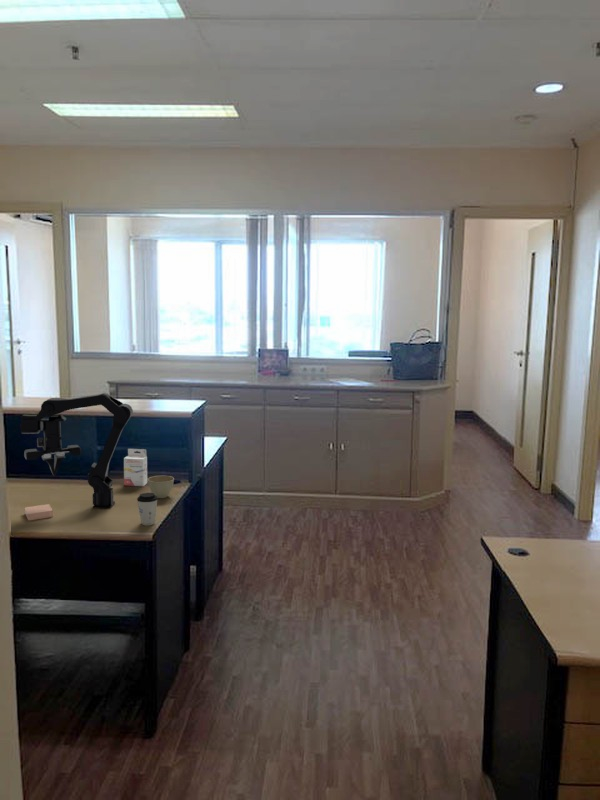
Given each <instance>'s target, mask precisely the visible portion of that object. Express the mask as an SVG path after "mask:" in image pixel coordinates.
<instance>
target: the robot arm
mask: <svg viewBox="0 0 600 800" xmlns="http://www.w3.org/2000/svg"><path fill="white" fill-rule="evenodd" d="M95 406H103V408H105V409H106V410H107V411H108V412H109V413H111V414H112V415H113V418H112V425H111V429H110V432H109V434H108V437H107V439H106V441H105V444H104V446H103V449H102V451H101V454H100V457H99V460H98V462H93V463H92V464H91V466H90V467H89V468H90V469H89V472H88V473H87V475H86V477H87V483H88V484H89V486H90V487H91V488H92V489H93V493H92V508H93V509H111V508H112V507H113V506H114V505H115V503H116V502H115V501H114V487H112V486H113V483H114V480H113V479H112V478H111V477H109V475H108V473H109V468H110V467H109V466H110V462H111V459H112V458H113V455H114V452H115V449H116V448H117V444H118V442H119V440H120V437H121V434H122V432H123V430H124V428H125V426H126V425H127V423H128V421H130V419H131V417H132V415H133V411H134V410H133V407H132V406H131V405H130V404H128V403H123V402H122V401H120V400H118V399H117V398H114V397H113V396H111V394H108V393H106V392H102V393H99V394H92V395H85V396H80V397H71V398H65V397H64V398H63V397H51V398H48V399H46V400H44V401H43V402H42V403H41V406H40V410H39V412H38V413H37V414H22V415H21V420H20V424H19V430H20V433H21V434H22V435H23V434H24V435H25V434H27V435H29V434H32V435H33V434H40V433H41V431H43V437H38V438H36V443H37V444H36V445H37V448H42V449H43V450H38V449H37V448H29V449H25V450H24V454H23V456H24V458H25V460H26V461H33V460H35V461H36V460H37V459H39V457H41V459H42V461H44V462H46V463H47V464H48V466H49V469H50V471H51V473H52V474H51V475H52V476H55V477H56V475H57V473H58V470H59V469H60V465H61V463H62V461H63V460H65V459H66V456H65V454H66V455H67V454H70V455H72V456H81V455H82V448H81V447H80V446H79V445H78V444H71V445H67V447H66V448H65V447H64V448H63V447H62V429H61V428H62V427H61V422H65V421H66V420H67V417H65V416H64V415H63V414H62V413H64V412H67V411H70V410H75V409H76V410H77V409H83V408H89V407H95ZM46 417H48V418H46ZM52 456H54V457H52Z"/></svg>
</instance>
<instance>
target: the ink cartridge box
mask: <svg viewBox="0 0 600 800" xmlns="http://www.w3.org/2000/svg"><path fill="white" fill-rule="evenodd" d="M123 484H124V486H128V487H130V486H131V487H132V486H133V487H145V486H146V485H147V484H148V456H147V449H146V448H145V449H144V448H141V449H140V448H127V455H126V456H125V457H123Z"/></svg>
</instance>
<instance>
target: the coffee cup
mask: <svg viewBox="0 0 600 800" xmlns="http://www.w3.org/2000/svg"><path fill="white" fill-rule="evenodd" d="M158 500H159V498H158V497H157V496H156V495H155V494H154V493H152V492H144V493H140V494H139V496H138V497H137V499H136V501H137V504H138V509H139V512H138V513H139V518H140V524H141V525H142V526H151V525H154V524H156V514H157V507H158V506H157V505H158Z"/></svg>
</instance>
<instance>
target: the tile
mask: <svg viewBox="0 0 600 800" xmlns="http://www.w3.org/2000/svg"><path fill="white" fill-rule="evenodd" d="M24 515H25V516H26V518H27V520H28V521H34V520H40V519H46V518H48V519H49V518H54V510H53V508H52V507H51V504H49V503H47V504H39V505H34V506H26V507H24Z"/></svg>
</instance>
